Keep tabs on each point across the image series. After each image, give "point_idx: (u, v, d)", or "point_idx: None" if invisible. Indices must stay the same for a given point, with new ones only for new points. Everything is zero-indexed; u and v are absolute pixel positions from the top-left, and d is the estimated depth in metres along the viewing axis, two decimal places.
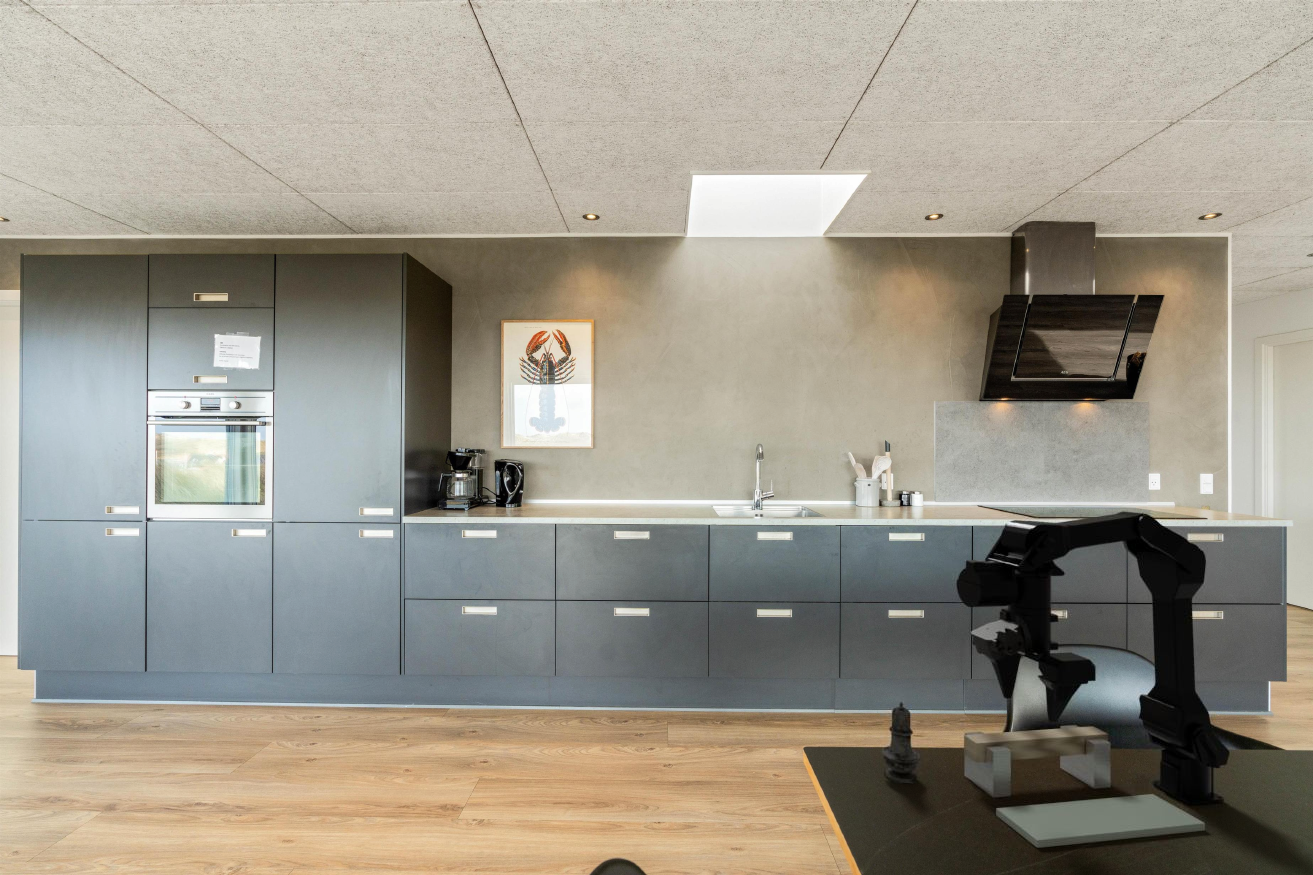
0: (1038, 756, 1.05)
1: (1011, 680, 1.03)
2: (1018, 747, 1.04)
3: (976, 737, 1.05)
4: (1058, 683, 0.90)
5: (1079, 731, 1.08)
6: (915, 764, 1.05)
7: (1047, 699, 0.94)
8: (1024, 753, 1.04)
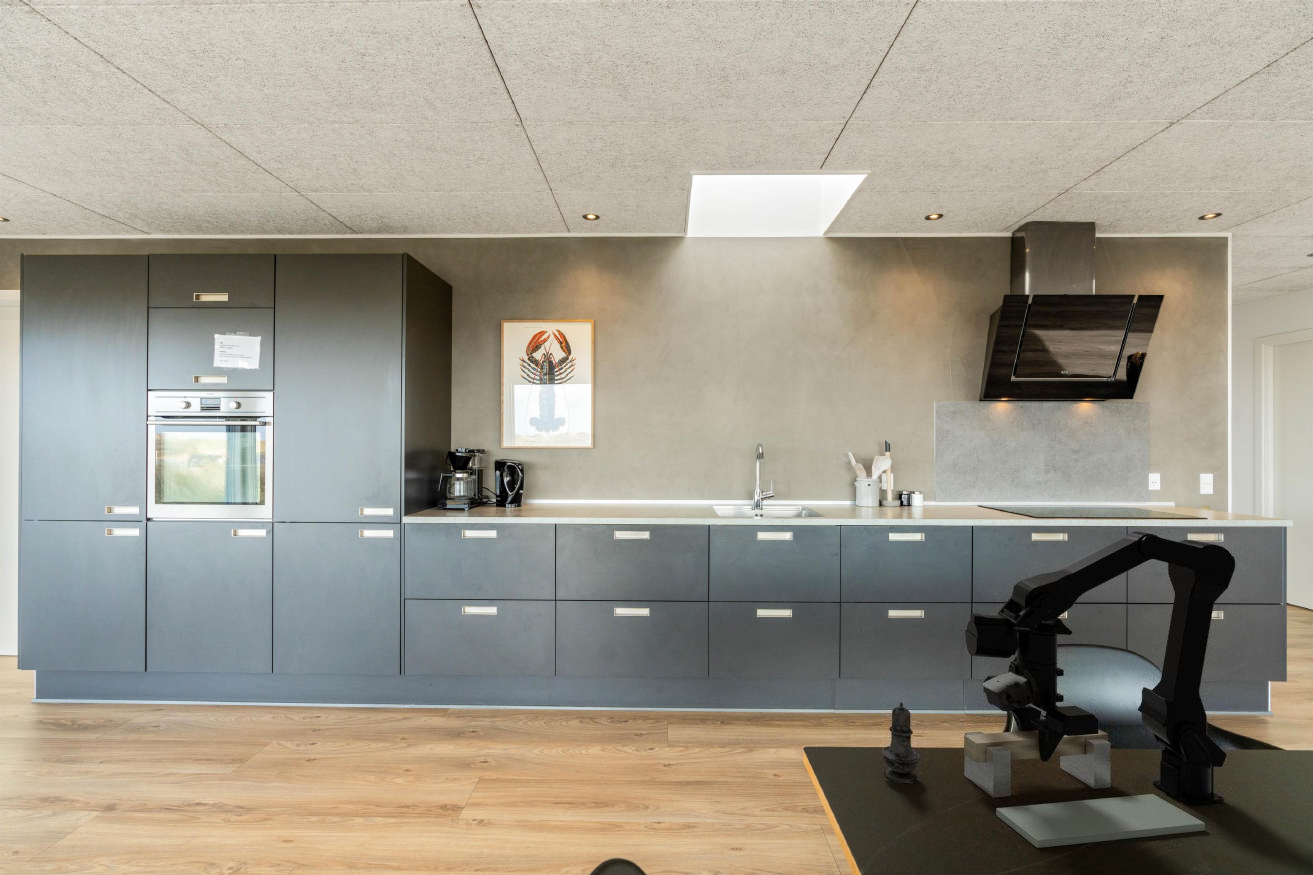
0: (1038, 756, 1.05)
1: None
2: (1018, 747, 1.04)
3: (976, 737, 1.05)
4: (1049, 728, 1.01)
5: None
6: (915, 764, 1.05)
7: (1039, 741, 1.04)
8: (1024, 753, 1.04)
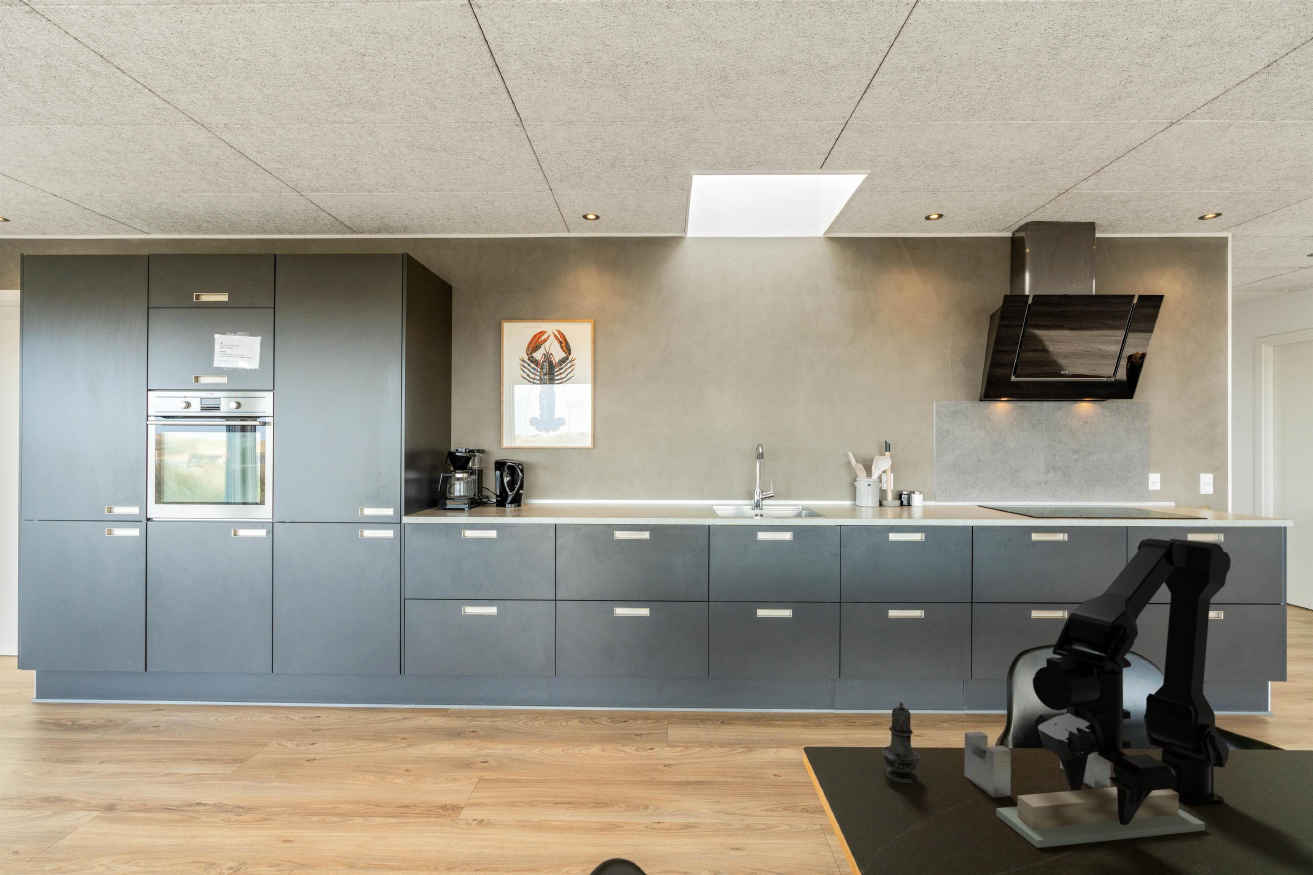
0: (1101, 820, 0.93)
1: (1080, 775, 0.99)
2: (1079, 810, 0.92)
3: (1031, 798, 0.93)
4: (1133, 788, 0.87)
5: None
6: (915, 764, 1.05)
7: (1118, 801, 0.90)
8: (1086, 817, 0.92)
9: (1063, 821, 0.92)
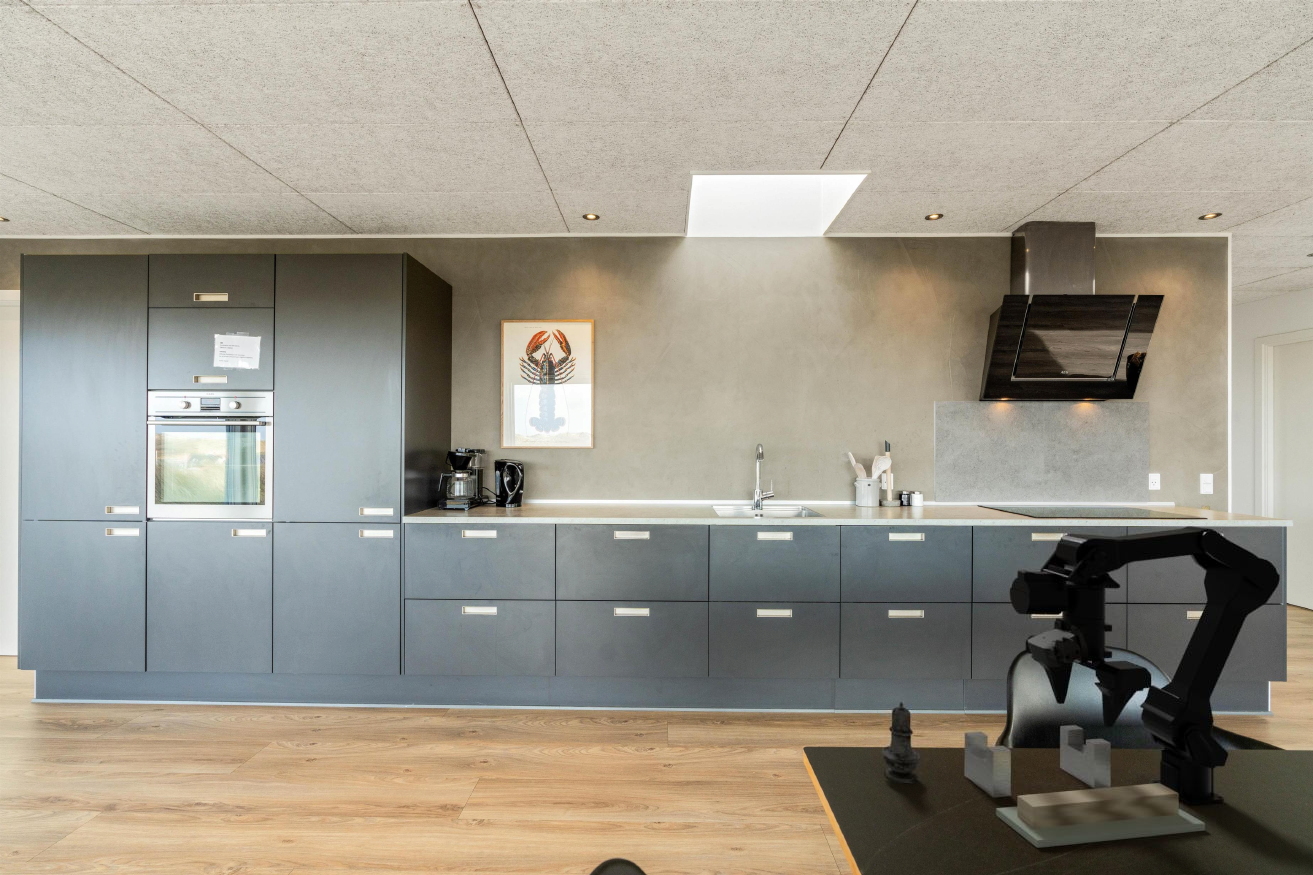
0: (1101, 820, 0.93)
1: (1064, 687, 1.08)
2: (1079, 810, 0.92)
3: (1031, 798, 0.93)
4: (1115, 690, 0.95)
5: (1145, 789, 0.96)
6: (915, 764, 1.05)
7: (1103, 705, 0.98)
8: (1086, 817, 0.92)
9: (1063, 821, 0.92)
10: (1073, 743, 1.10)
